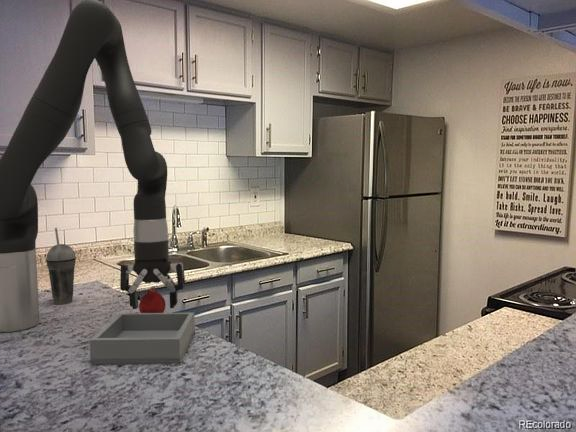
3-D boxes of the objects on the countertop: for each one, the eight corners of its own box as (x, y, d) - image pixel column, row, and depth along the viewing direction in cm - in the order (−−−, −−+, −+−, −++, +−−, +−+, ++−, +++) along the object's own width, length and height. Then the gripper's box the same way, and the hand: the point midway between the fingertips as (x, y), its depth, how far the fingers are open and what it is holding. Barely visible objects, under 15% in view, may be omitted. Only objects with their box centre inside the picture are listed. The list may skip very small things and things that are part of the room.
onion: (158, 326, 105) (157, 291, 104) (134, 324, 106) (133, 290, 105) (170, 318, 111) (169, 285, 110) (147, 317, 112) (146, 284, 111)
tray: (90, 364, 84) (89, 340, 84) (119, 333, 100) (119, 313, 100) (180, 363, 85) (179, 339, 84) (194, 332, 101) (194, 312, 100)
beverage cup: (84, 300, 126) (81, 226, 124) (61, 307, 120) (57, 229, 118) (64, 297, 129) (61, 225, 127) (41, 304, 123) (37, 228, 121)
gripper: (114, 241, 103) (117, 313, 104) (179, 240, 103) (182, 311, 105) (124, 236, 110) (128, 303, 112) (185, 235, 111) (188, 302, 112)
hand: (154, 307), depth 108 cm, fingers open, 8 cm apart
